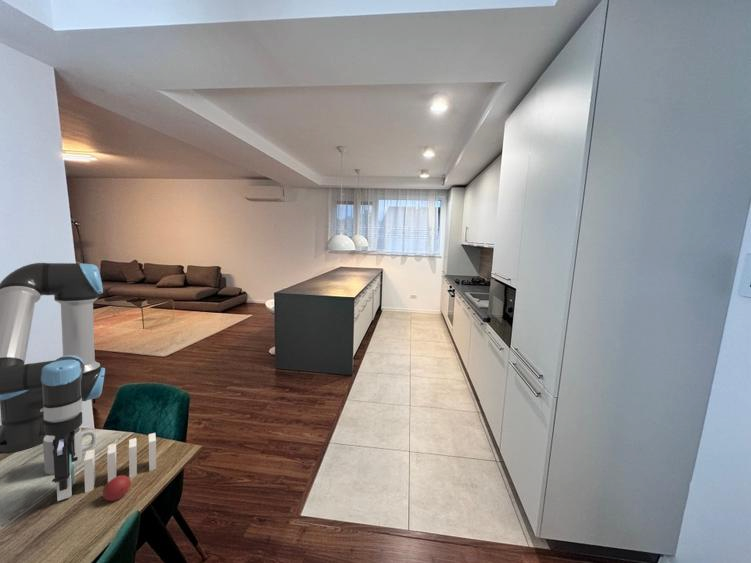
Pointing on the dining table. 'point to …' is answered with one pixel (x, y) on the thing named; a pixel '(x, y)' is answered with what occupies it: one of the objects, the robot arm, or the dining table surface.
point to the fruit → (116, 488)
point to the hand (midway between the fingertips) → (66, 491)
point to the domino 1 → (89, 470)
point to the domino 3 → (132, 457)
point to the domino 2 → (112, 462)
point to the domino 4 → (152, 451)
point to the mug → (79, 449)
